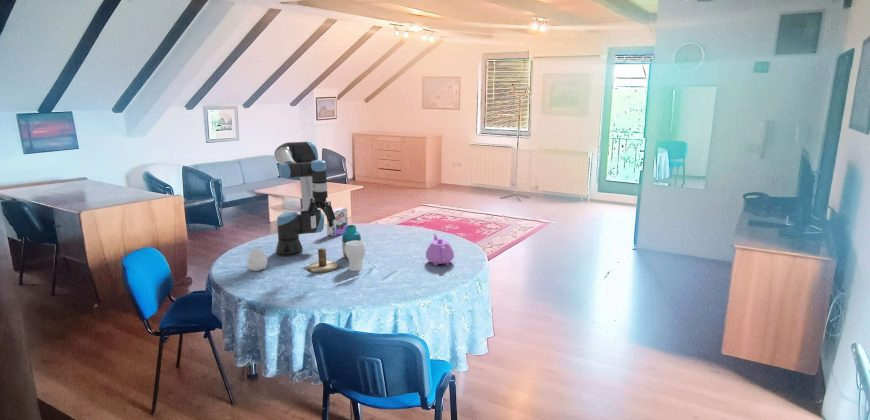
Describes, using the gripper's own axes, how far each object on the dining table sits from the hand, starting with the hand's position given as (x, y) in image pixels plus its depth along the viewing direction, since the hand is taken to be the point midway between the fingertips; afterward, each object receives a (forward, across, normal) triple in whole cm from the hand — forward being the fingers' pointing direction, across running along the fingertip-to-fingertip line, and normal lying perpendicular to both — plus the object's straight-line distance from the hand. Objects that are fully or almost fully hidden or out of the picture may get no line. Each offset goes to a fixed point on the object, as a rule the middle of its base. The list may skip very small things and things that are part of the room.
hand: (321, 230), depth 280 cm
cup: (+22, +14, +10) cm, 28 cm away
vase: (+22, -2, +22) cm, 31 cm away
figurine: (+22, -25, -23) cm, 41 cm away
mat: (+22, 0, 0) cm, 22 cm away
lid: (+21, 0, 0) cm, 21 cm away
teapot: (+22, +40, +49) cm, 67 cm away
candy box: (+22, -48, +49) cm, 72 cm away
